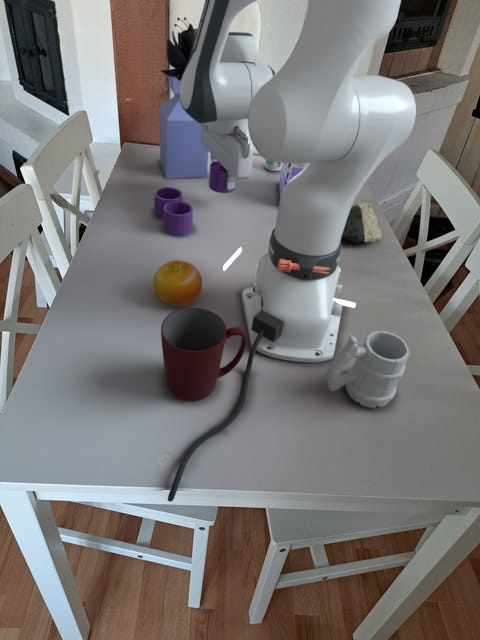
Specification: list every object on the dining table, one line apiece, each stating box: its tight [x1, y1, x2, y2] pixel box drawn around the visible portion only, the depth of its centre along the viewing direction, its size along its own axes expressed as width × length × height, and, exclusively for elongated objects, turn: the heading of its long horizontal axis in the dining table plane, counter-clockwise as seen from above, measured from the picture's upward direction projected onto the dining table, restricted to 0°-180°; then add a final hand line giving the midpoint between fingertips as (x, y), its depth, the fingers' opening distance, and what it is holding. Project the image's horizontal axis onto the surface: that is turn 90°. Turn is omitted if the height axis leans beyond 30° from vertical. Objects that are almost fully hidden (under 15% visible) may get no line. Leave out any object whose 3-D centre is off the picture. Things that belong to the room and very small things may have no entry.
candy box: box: [278, 162, 309, 199], centre depth 116 cm, size 14×6×16 cm, turn 179°
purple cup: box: [153, 186, 184, 220], centre depth 106 cm, size 6×6×5 cm
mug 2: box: [326, 330, 410, 409], centre depth 69 cm, size 8×12×12 cm, turn 102°
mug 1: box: [160, 307, 247, 402], centre depth 68 cm, size 12×9×11 cm
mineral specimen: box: [341, 202, 383, 243], centre depth 107 cm, size 13×7×15 cm
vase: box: [159, 16, 209, 179], centre depth 116 cm, size 14×12×35 cm
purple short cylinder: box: [208, 161, 237, 194], centre depth 108 cm, size 6×6×5 cm
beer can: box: [264, 159, 283, 172], centre depth 129 cm, size 5×5×12 cm
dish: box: [162, 201, 194, 237], centre depth 102 cm, size 6×6×5 cm
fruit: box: [152, 260, 203, 307], centre depth 83 cm, size 8×9×8 cm
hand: (222, 180), depth 108 cm, fingers closed on purple short cylinder, 6 cm apart
